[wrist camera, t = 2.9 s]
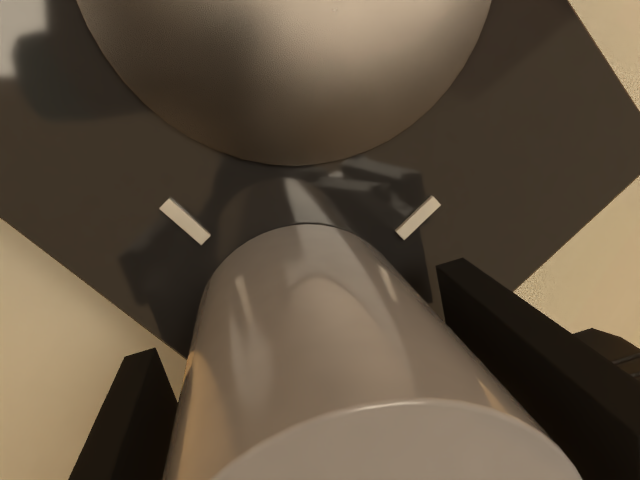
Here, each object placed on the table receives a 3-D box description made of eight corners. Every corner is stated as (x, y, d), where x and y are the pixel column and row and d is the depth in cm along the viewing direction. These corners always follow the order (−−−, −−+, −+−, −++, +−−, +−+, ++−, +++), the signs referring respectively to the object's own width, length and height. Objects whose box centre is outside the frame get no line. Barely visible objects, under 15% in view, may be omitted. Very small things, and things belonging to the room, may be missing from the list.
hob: (-213, 84, 13) (-353, 79, 10) (208, -408, 11) (195, -592, 8) (292, 460, 19) (302, 530, 16) (610, 165, 17) (688, 178, 14)
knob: (149, 334, 13) (6, 692, 5) (306, 177, 12) (418, 306, 5) (302, 450, 15) (372, 848, 7) (445, 318, 14) (695, 585, 6)
